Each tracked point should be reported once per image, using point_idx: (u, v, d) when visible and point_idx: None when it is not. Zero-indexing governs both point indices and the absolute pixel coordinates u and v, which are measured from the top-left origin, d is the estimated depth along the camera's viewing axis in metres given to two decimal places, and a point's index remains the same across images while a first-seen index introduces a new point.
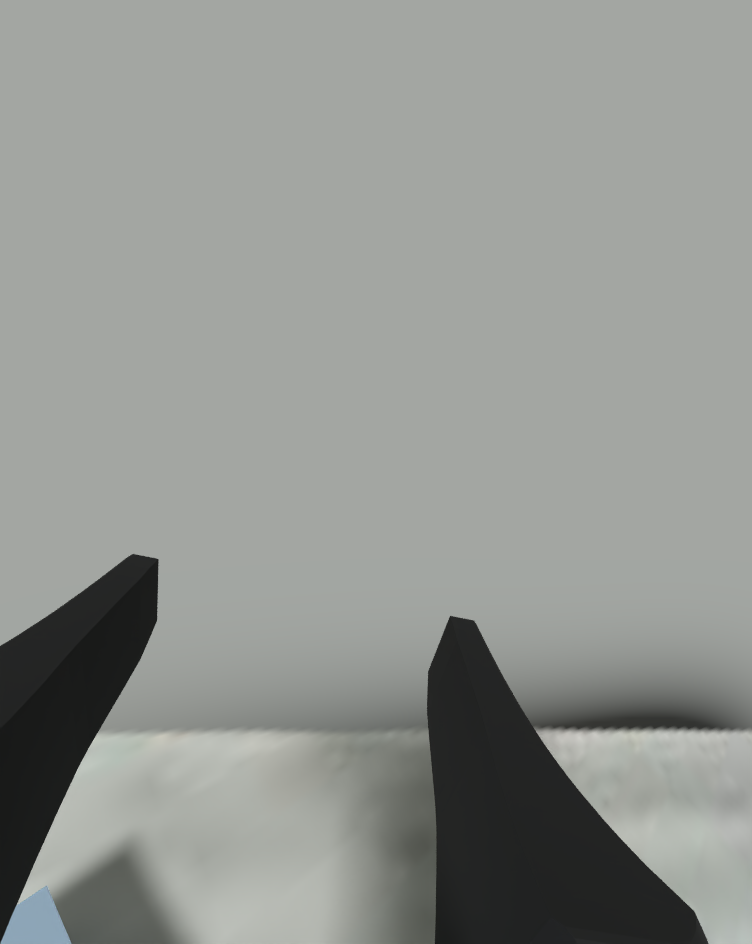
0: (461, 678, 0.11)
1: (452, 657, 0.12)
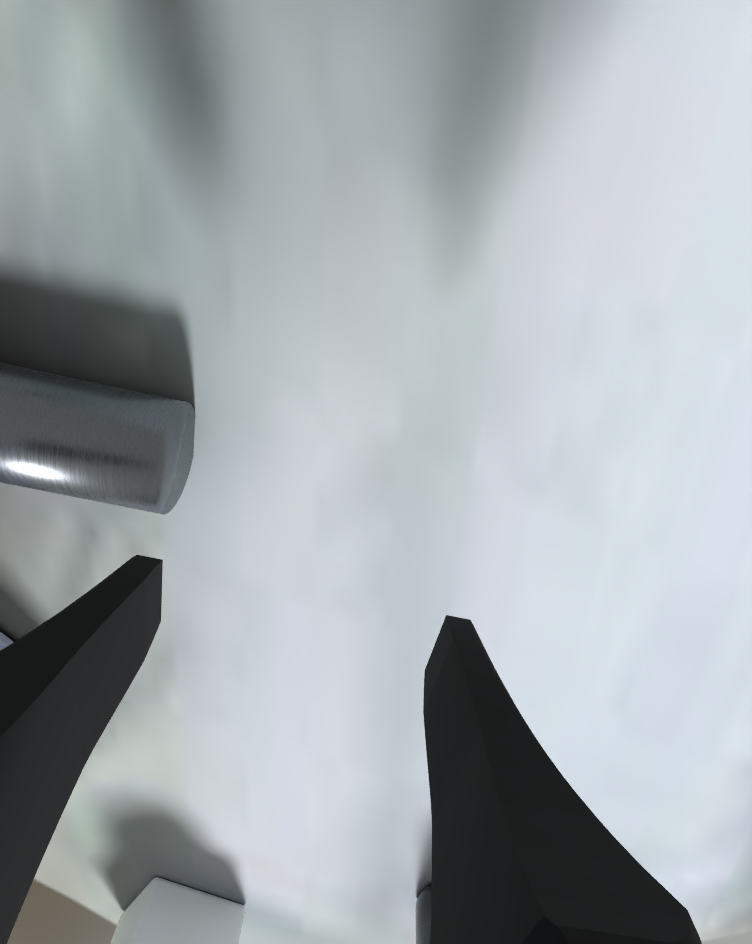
0: (457, 677, 0.11)
1: (448, 656, 0.12)
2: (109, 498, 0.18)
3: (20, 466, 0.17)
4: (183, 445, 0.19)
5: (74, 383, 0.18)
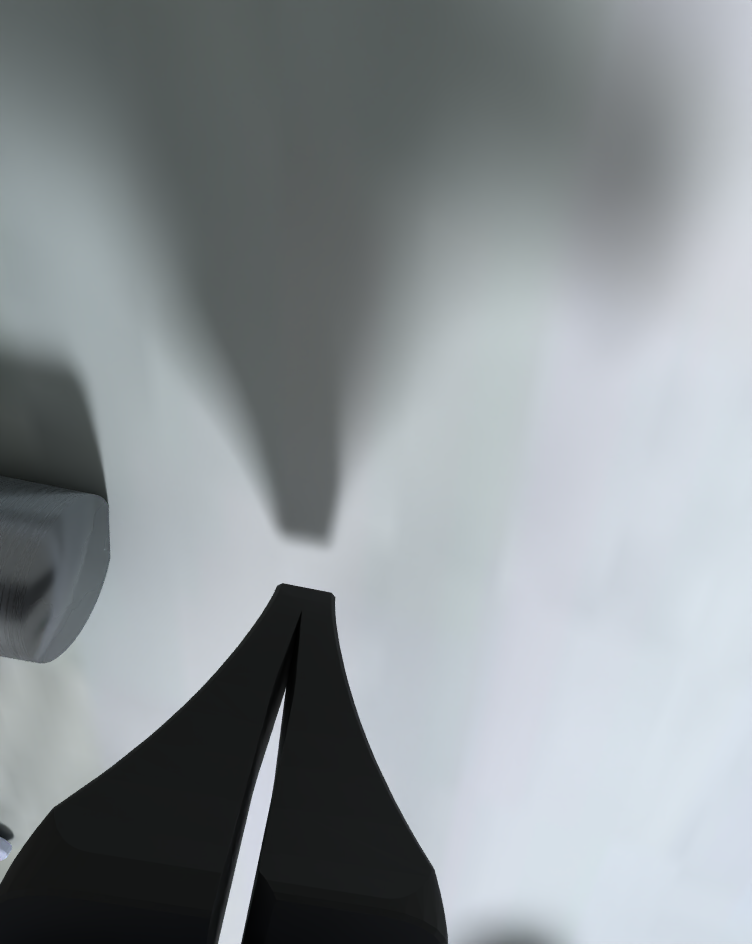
0: (297, 647, 0.11)
1: (299, 628, 0.12)
2: None
3: None
4: (89, 556, 0.13)
5: None
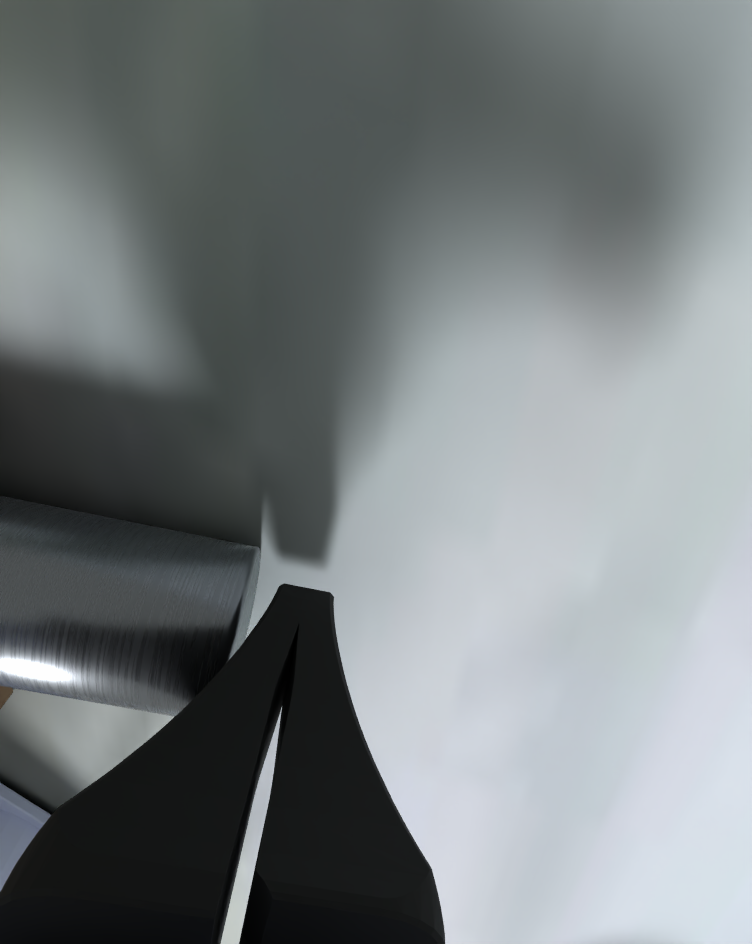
0: (296, 647, 0.11)
1: None
2: (139, 707, 0.11)
3: (2, 666, 0.11)
4: (246, 606, 0.13)
5: (92, 529, 0.12)
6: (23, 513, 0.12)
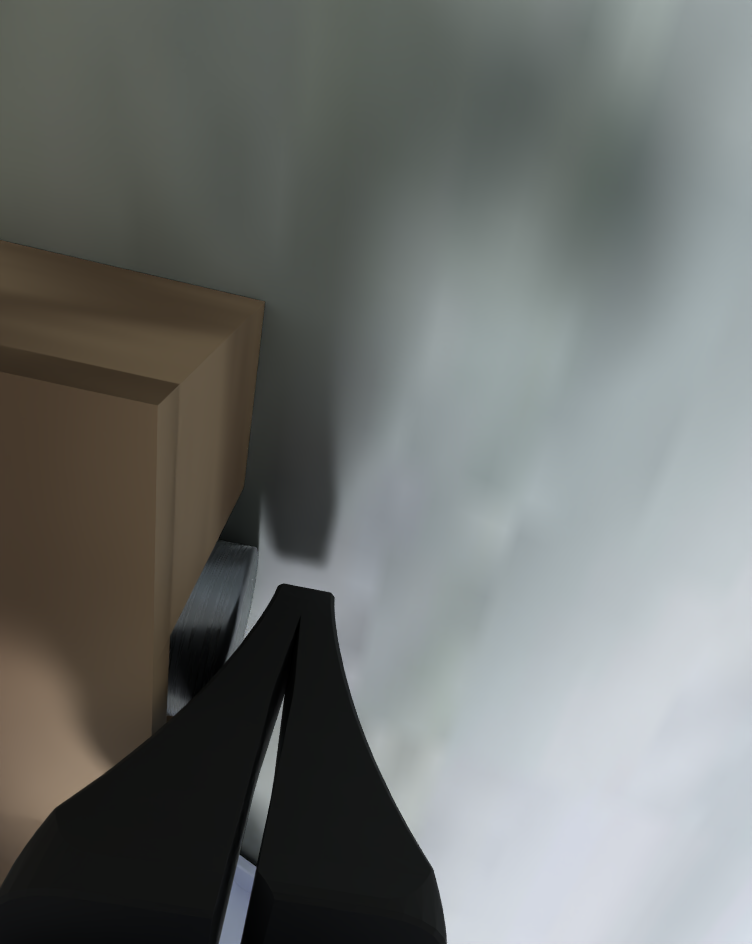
0: (297, 647, 0.11)
1: None
2: None
3: None
4: (244, 607, 0.13)
5: None
6: None
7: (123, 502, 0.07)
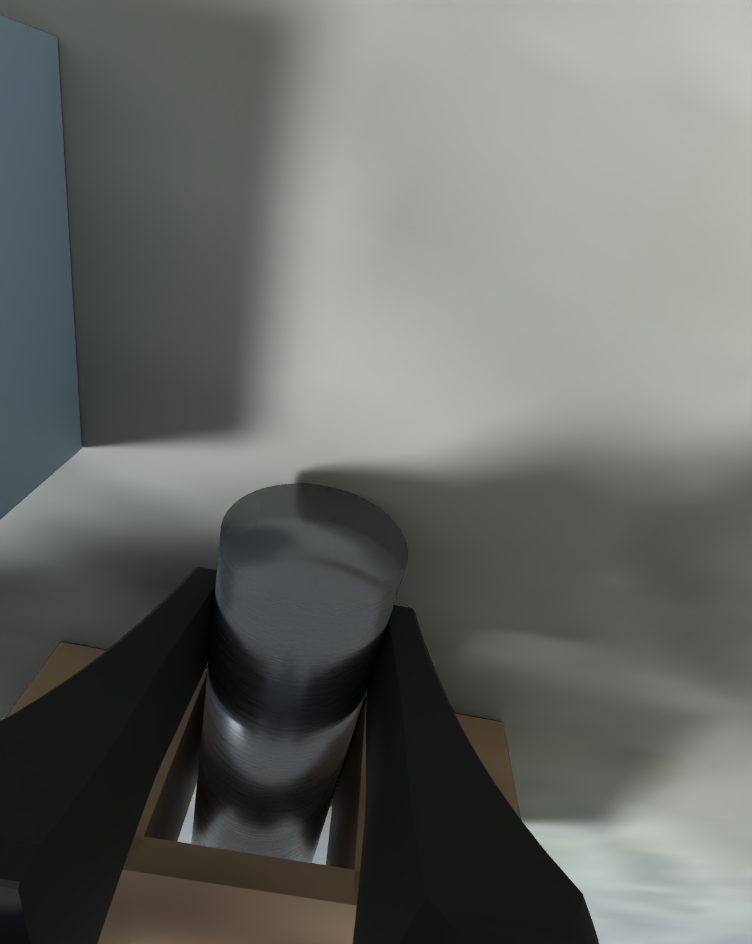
0: (390, 665, 0.11)
1: (386, 644, 0.12)
2: None
3: None
4: None
5: None
6: None
7: None
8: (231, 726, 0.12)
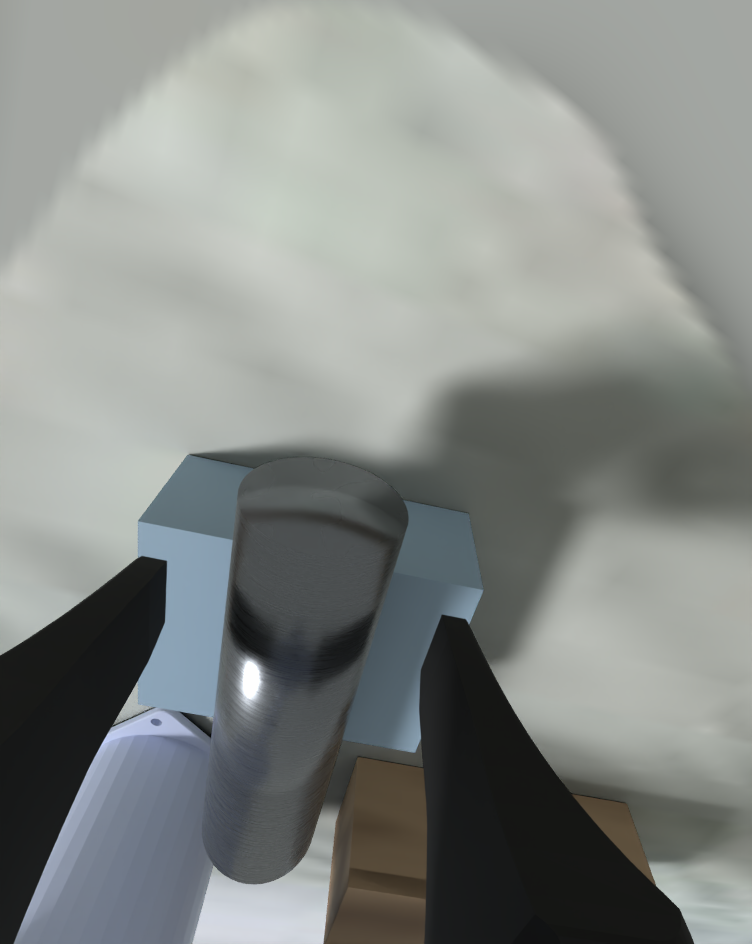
0: (452, 676, 0.11)
1: (443, 655, 0.12)
2: (232, 854, 0.17)
3: (266, 815, 0.16)
4: None
5: None
6: None
7: None
8: (244, 676, 0.13)
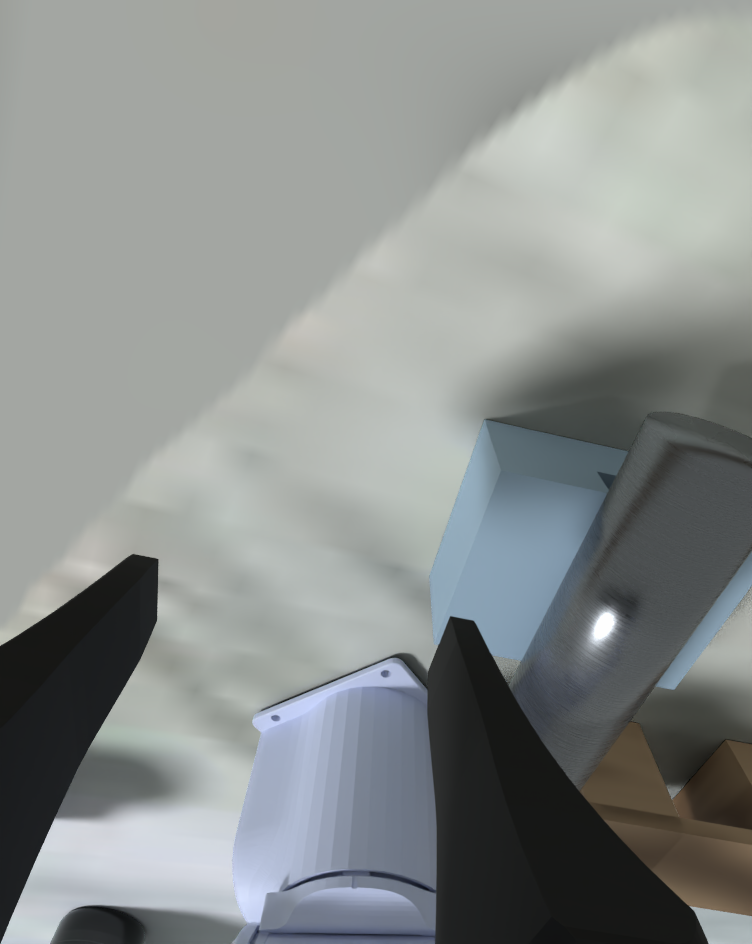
0: (461, 678, 0.11)
1: (452, 657, 0.12)
2: None
3: (600, 731, 0.18)
4: None
5: None
6: None
7: None
8: (635, 598, 0.15)
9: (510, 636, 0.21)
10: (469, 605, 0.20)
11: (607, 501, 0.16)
